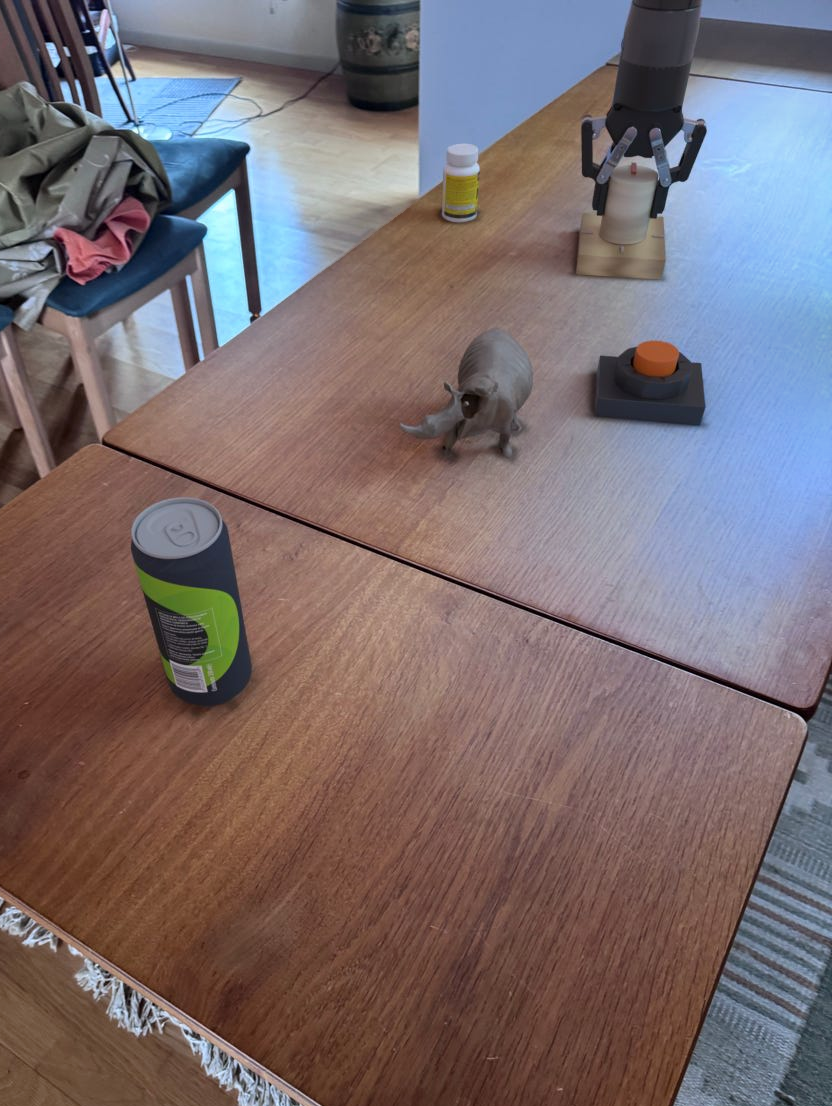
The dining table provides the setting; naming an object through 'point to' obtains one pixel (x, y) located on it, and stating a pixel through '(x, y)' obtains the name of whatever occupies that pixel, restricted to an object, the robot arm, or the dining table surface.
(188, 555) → the beverage can
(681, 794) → the dining table surface
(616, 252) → the tan square base
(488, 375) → the rhinoceros figurine
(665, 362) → the button
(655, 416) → the button box
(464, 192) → the supplement bottle
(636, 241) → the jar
